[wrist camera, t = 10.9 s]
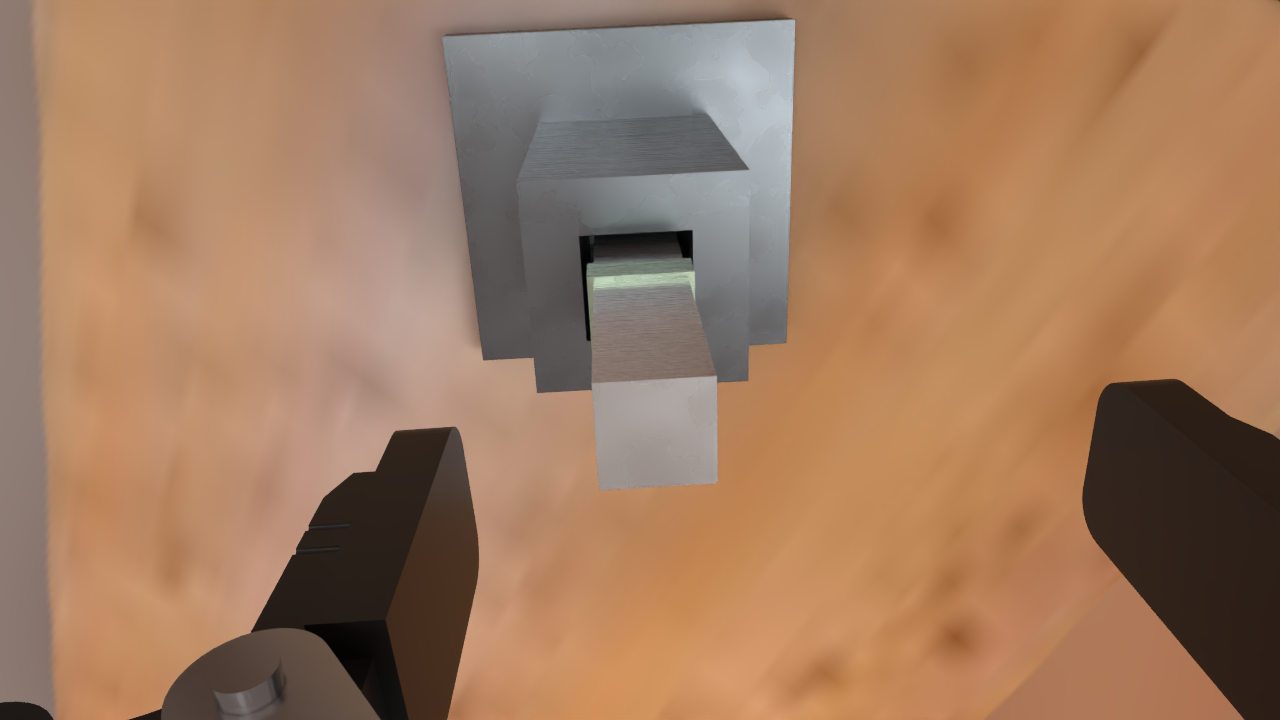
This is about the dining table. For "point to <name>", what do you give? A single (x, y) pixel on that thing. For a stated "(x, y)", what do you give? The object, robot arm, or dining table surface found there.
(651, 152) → the stand housing
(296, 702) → the robot arm
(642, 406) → the column
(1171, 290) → the dining table surface
